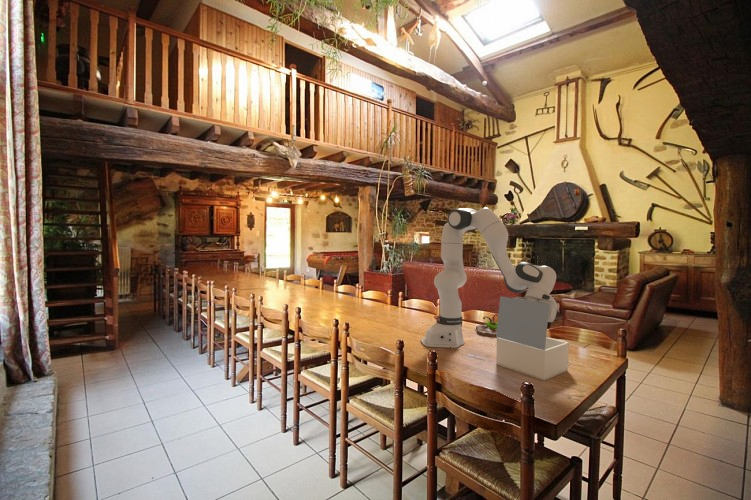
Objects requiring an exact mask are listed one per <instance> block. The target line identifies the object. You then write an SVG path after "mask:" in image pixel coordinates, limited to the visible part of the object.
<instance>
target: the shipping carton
mask: <svg viewBox="0 0 751 500" xmlns="http://www.w3.org/2000/svg"><path fill="white" fill-rule="evenodd" d="M569 350H570V342H568V341H564V340H560V339H556V338H552V337H547V336H546V344H545V350H541V349H537V348H534V347H530V346H527V345H523V344H520V343H516V342H512V341H509V340H505V339H502V338H498V337H496V366H500V367H503V368H506V369H508V370H511V371H514V372H517V373H520V374H522V375H526V376H529V377H532V378H533V379H537V380H540V381H543V382H545V381H548V380H550V379H552V378H555V377H556V376H559V375H561V374H564V373H566V372H568V371H569V370H568V368H569V367H568V366H569V365H568V364H569V358H570V357H569V354H570V353H569Z"/></svg>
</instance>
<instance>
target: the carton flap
mask: <svg viewBox="0 0 751 500" xmlns="http://www.w3.org/2000/svg"><path fill="white" fill-rule="evenodd" d="M548 313H549V304H545V303H539V302H533V301H527V300H521V299H515V297H508V296H501V295H500V296H499V305H498V317H497V322H498V323H497V333H496V337H495V338H497V337H498V338H502V339H505V340H509V341H512V342H516V343H520V344H523V345H527V346H530V347H534V348H537V349H541V350H545V344H546V337H547V331H548V323H549V322H548Z"/></svg>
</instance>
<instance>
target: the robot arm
mask: <svg viewBox="0 0 751 500" xmlns="http://www.w3.org/2000/svg"><path fill="white" fill-rule="evenodd" d="M475 230H477V231H478V232H479V233H480V235H481V236H482V238H483V239H484V242H485V243H486V244H487V246H488V249H489V252H490V253H491V256H492V258H493V260H494V262H495V263H496V265H497V268H498V269H499V271H500V273H501V275H502V276H503V277H502V278H503V280H504V281H503V282H504V285H505V287H506V289H507V290H508V291H509V292H511V293H514V294H522V293H524V292H526V293H525V295H524V296H515V297H514V298H515V299H521V300H527V301H533V302H539V303H545V304H549V313H548V323H552V322H554V321H555V319H556V316H557V313H558V312H557V311H558V309H559V308H558V307H559V305H558V303H557V301H556V300H555V298H554V297H553V296H552V295H550V294H551V292H552V291H553V289H554V287H555V284H556V281H557V274H556V271H555V270H554V269H553V268H552V267H550V266H548V265H535V264H532V263H531V262H528V261H521V262H519V263H517V264H516V265H515V266H514V265H513V263H512V261H511V260H510V257H509V255H508V252H507V248H508V247H507V246H508V240H509V232H508V229H507V227H506V225H505V224H504V222H503V221H502V219H500V217H499V216H498V215H497V214H496V213H495V212H494V211H493V210H492V209H491V208H489V207H481V208H480V209H475V208H470V207H465V208H464V207H463V208H462V207H459V208H454V209H452V210H451V211H450V212H449V213H448V216H447V222H446V223H445V224H444V225H443V228H442V233H441V243H440V244H441V245H440V258H441V260H442V263H443V267H444V268H443V270H442V271H439V273H437V274H436V275H435V276H434V279H433V284H434V287H435V288H436V290H437V292H438V293H437V294H438V297H439V315H436V314H435V315H434V316H433V318H434V320H436V322H435V323H433V324H432V325H431V326H430V327H428V328H427V329H426V331H425V336H424V337H422V338H421V339H420V341H421V343H422V344H423V345H424V346H425V347H427V348H450V347H451V349H452V348H454V349H457V348H459V347H460V346H462V345H463V346H464V344H465V340H464V337H463V336H464V335H463V328H462V327H463V316H462V300H461V299H460V295H459V288H462V287H463V286H464V285H465V284H466V282H467V279H468V278H467V277H468V276H467V273H466V270H465V266H464V258H463V251H464V250H463V249H464V244H463V243H464V234H465V232H472V231H475Z"/></svg>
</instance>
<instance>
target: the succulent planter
mask: <svg viewBox="0 0 751 500" xmlns="http://www.w3.org/2000/svg"><path fill="white" fill-rule="evenodd" d="M495 317H496V318H498V314H497V313H496V314H495V313H494V315H493V316H492V318H490V317H489V316H483V318H482V320H486V318H487V319H488V320H489V321H488V320H486V323H485V322H484V324H481V325H476V326H475V330H476V334H477V335H479V336H482V337H489V338H497V337H496V333H497V323H498V321H495Z"/></svg>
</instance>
